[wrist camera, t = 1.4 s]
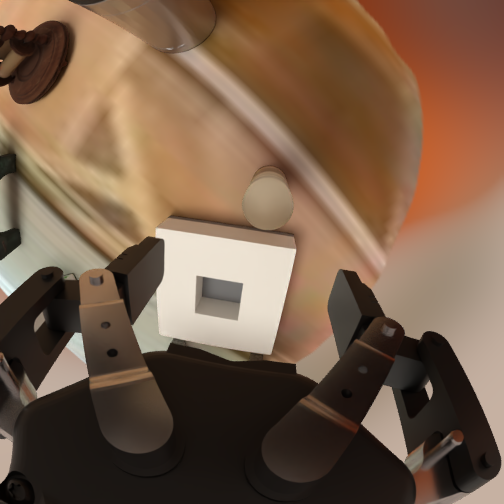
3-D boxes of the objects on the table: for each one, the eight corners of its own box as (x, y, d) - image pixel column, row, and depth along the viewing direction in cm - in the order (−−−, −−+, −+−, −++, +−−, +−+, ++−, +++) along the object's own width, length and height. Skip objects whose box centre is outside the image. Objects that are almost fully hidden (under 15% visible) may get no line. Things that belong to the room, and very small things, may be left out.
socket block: (170, 215, 35) (155, 227, 30) (293, 234, 35) (296, 249, 30) (169, 314, 41) (159, 334, 37) (271, 332, 41) (270, 354, 36)
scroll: (67, 8, 21) (-16, -18, 3) (82, 65, 26) (-24, 50, 8) (14, 62, 25) (-66, 62, 6) (25, 120, 30) (-67, 137, 11)
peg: (255, 163, 31) (245, 176, 20) (288, 168, 31) (297, 185, 20) (250, 195, 33) (239, 226, 22) (283, 200, 33) (288, 233, 22)
